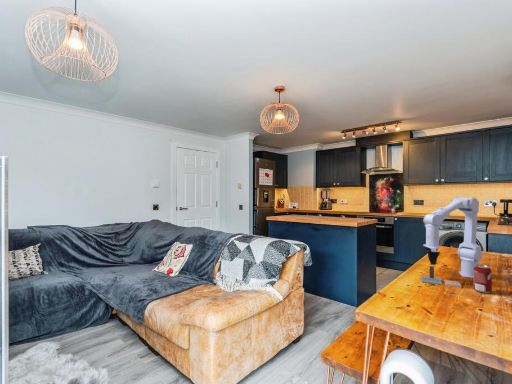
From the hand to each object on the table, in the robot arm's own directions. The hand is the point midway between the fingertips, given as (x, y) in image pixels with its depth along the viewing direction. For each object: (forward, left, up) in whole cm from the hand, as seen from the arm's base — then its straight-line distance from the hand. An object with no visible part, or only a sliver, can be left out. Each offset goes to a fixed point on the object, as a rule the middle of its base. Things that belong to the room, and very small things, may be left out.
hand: (432, 262), depth 143 cm
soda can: (+7, +19, -10) cm, 23 cm away
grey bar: (+1, 0, -9) cm, 9 cm away
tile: (0, +8, -9) cm, 12 cm away
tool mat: (+1, -1, -10) cm, 10 cm away
